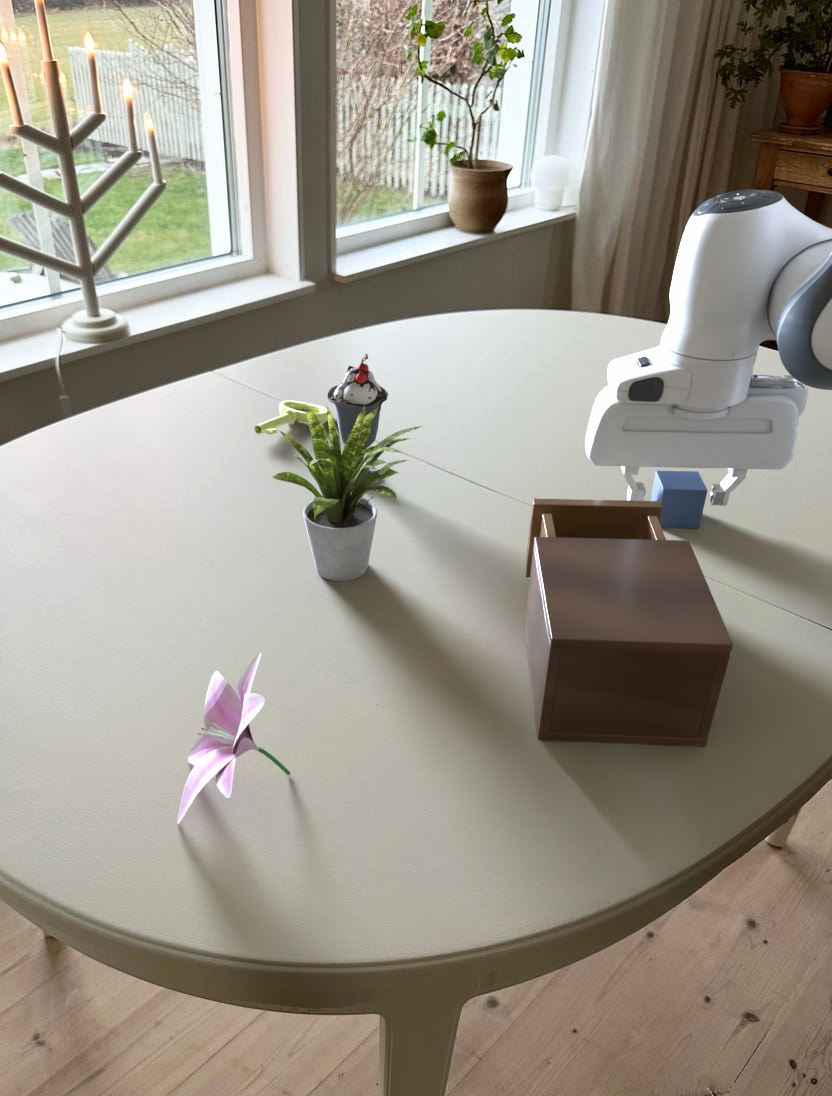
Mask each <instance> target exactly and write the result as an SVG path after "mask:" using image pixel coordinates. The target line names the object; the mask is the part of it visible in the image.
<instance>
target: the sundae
mask: <svg viewBox="0 0 832 1096" xmlns="http://www.w3.org/2000/svg"><path fill="white" fill-rule="evenodd" d="M368 359H369V354H367V353H365V354H364V357H362V359H361V362H360V364H358V366H357V367H356V366H355V367H354V366H352V365H349V366H348V368H347V370H346V373H345V376H344V379H343V381H342V382H341V383H340V384H338V385H334V386H332V387H331V388H330V389H329V390H328V392H327V395H326V397H327V400H328V402H330V403H332V404H333V407H334V409H335V414H336V420H337V427H338V428H337V429H338V434H339V438H340V440H341V441H340V442H342V443H343V445H345V443H346V441H347V438H348V436H349V434H350V432H351V430H352V428H353V426H354V424H355V422H356V420H357V417H358V415H359V413H360V412H361V410H362V408H363V406H364V405H365V416H366V415H368V414H369V413H370V412H372V411H373V410H374V409H377V408H378V409H377V413H376V415H375V417H374V418H373V420H372V422H371V428H370V435H369V437H368V439H367V441H366V443H365V445H364V447H363V449H362V450H365V449H367V448H369V447H371V446H372V445H373V444H374V443H375V441H376V440H377V435H378V430H379V423H380V422H379V421H380V416H381V415H380V414H381V409H382V404H383V403H384V402H386V401H387V400H388V397H389V392H388V391H387V390H386V389H385V388H384V387H383V386H381V385H379V383H378V382H377V381H376V379H375V376H374V374H373V372H372V371H371V370H370V367H369V365H368V364H367V363H364V362H366V361H367V360H368ZM379 407H380V408H379ZM365 416H364V418H365ZM364 458H365V455H364V456H363V457H362V458H361V459H360V460H359V461H358V462H357V463H356V466H355V469H354V471H355V470H356V469H357V467H358V466H359V465H360V463H361V462H362V461H363V459H364ZM375 471H377V470H375V469H369V471H368V472H367V474H366V476H365V477H364V479H363V481H364V480H365V479H366V478H367V477H368V476H369V475H371V474H372V473H373V472H375ZM363 481H362V482H363ZM357 482H358V481H357ZM362 482H361V483H362ZM356 484H357V483H356ZM355 486H356V485H355Z"/></svg>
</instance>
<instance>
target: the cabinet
mask: <svg viewBox="0 0 832 1096" xmlns="http://www.w3.org/2000/svg"><path fill="white" fill-rule="evenodd" d="M523 630H524V631H523V632H524V639H525V641H524V642H525V648H526V656H527V664H528V671H529V672H528V673H529V680H530V688H531V697H532V703H533V711H534V719H535V727H536V735H537V740H538V741H548V742H549V741H550V742H551V741H553V742H577V743H578V742H579V743H603V744H605V743H607V744H630V745H631V744H633V745H654V746H655V745H656V746H657V745H658V746H680V747H681V746H682V747H685V746H686V747H706V746H707V742H708V738H709V735H710V732H711V728H712V724H713V720H714V717H715V713H716V710H717V705H718V702H719V698H720V695H721V691H722V687H723V684H724V680H725V676H726V673H727V668H728V665H729V661H730V658H731V653H732V651H733V647H734V644H733V641H732V638H731V636H730V634H729V631H728V629H727V627H726V625H725V622H724V620H723V618H722V615H721V613H720V610H719V608H718V606H717V603H716V601H715V599H714V596H713V594H712V591H711V589H710V587H709V585H708V582H707V580H706V576H705V574H704V573H703V571H702V568H701V565H700V563H699V560H698V558H697V556H696V554H695V551H694V549H693V546H692V545H691V542H690V540H680V539H679V540H678V539H666V540H643V539H601V538H559V537H535V538H534V547H533V556H532V565H531V574H530V578H529V583H528V592H527V602H526V610H525V619H524V629H523Z"/></svg>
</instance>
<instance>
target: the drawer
mask: <svg viewBox="0 0 832 1096" xmlns="http://www.w3.org/2000/svg"><path fill="white" fill-rule="evenodd" d="M661 512H662V505H661V503H660V501H650V500H644V501H628V500H627V499H626V500H625V499H624V500H623V499H622V500H621V499H619V500H617V499H578V498H575V499H574V498H573V499H571V498H566V499H565V498H532V501H531V510H530V518H529V519H530V520H529V526H528V527H529V528H528V537H527V545H526V557H525V565H524V576H525V578H526V579H527V578H529V579H530V574H531V565H532V556H533V547H534V538H535V537H559V538H601V539H643V540H667V538H666V536H665V534H664V531H663V527H661V526H660V523H659V522H660V517H661Z"/></svg>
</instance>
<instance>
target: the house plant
mask: <svg viewBox="0 0 832 1096" xmlns="http://www.w3.org/2000/svg"><path fill="white" fill-rule="evenodd" d="M305 408H306V410H305V412H306V414H307V419H308V423H307V424H308V428H309V431H310V437H311V438H310V439H309V441H312V450H313V454H314V458H315V459H314V458H313V457H312V455H311V453H310V452H309V451H308V449H307V448H306V447H305V446H303V444H302V443H301V442H299V441H298V440H297V439H296V438H294V437H293V436H292V435H290V434H288V433H285V432H283V431H281V430H279V433H280V434H281V435H282V436H283V437H284V438H285V439H286V440H288V441H289V442H290V444H291V446H292V447H293V448H294V449H295V451H296V452H297V453H298V454H299V455H301V457H302V458H303V459H304V461H305V462H306V463H305V462H304V461H303V459H302V458H300V457H299V456H297V455H295V454H292V453H291V456H293V457H295V458H296V459H297V460H299V461H300V462H301V463H302V464H303V465H304V466H305V467H306V468H307V469H308V471H309V473H310V475H311V476H312V477H313V480H315V482H316V483H317V485H318V487H319V490H320V492H319V491H318V489H317V488H316V487H315V486H314V485H313V484H312V482H310V481H309V480H307V479H306V478H304V477H303V476H300V475H299V474H297V473H293V472H291V471H282V472H278V473H276V474H274V475H273V476H272V477H271V478H270V480H272V479H275V480H278V481H282V482H287V483H291V484H295V485H298V486H301V487H302V488H305V489H307V490H308V491H310V492H311V493H312V494H313V495H314V496H315V497H314V498H313V499H312V500H311V501H309V502H308V503H307V504H306V505H305V506H304V508H303V510H302V511H303V512H302V515H303V520H304V524H305V528H306V532H307V535H308V541H309V545H310V550H311V553H312V557H313V561H314V566H315V569H316V572H317V574H318V575H319V576H320V577H322V578H323V579H327V580H330V581H336V582H344V581H351V580H356V579H357V578H360V577H362V576H363V575H365V573H366V572H367V570H368V567H369V562H370V556H371V551H372V544H373V539H374V535H375V529H376V522H377V516H378V508H377V506H376V504H375V503H373V502H372V501H371V499H373V498H374V497H375V495H373V496H371V497H370V498H369V499H368V498H366V497H364V495H366V493H367V492H376V493H377V494H376V496H378V495H386V496H387V497H390V498H393V499H394V500H395V501H396V502H397V503H398V505H400V503H399V500H398V497H397V494H396V492H395V491H394V490H393V489H391V488H390V487H389V486H386V485H381V484H376V483H378V482H380V481H383V480H385V479H387V478H389V477H391V476H394V475H396V474H399V472H398V471H396V470H395V469H392V468H394V467H393V466H396V465H398V464H401V463H405V462H406V461H408V459H402V460H394V461H390V462H386V461H384V460H382V459H379V457H381V455H382V454H384V453H385V452H389V453H398V454H402V452H401V451H400V450H397V449H395V448H392V446H394V445H395V444H396V443H400V442H404V441H406V440H410V439H411V437H409V438H408V437H407V438H405V437H404V438H398V437H400V436H402V435H404V434H407V433H410V432H412V431H415V430H418V429H420V428H423V426H422V425H419V426H414V427H409V428H405V429H401V430H399V431H396V432H394V433H392V434H391V435H388V436H387V437H386V438H384V439H382V440H381V441H380V442H379V443H377V444H375V445H371V446H369V447H368V448H366V449H365V450H362V449H363V447H364V445H365V443H366V441H367V439H368V437H369V435H370V428H371V422H372V420H373V418H374V417H375V415H376V413H377V409H378V408H377V409H374V410H373V411H372V412H370V413H369V414H368V415H366V416H365V405H364V406H363V408H362V410H361V412H360V413H359V415H358V417H357V420H356V422H355V424H354V426H353V428H352V430H351V432H350V434H349V436H348V438H347V441H346V443H345V444H344V445H343V450H342V447H341V441H340V440H341V438H340V434H339V431H338V430H337V429H338V428H337V427H336V424H335V421H334V417H333V414H332V412H331V410H330V409H329V407H328V406H326V408H327V415H328V421H327V422H328V434H329V438H328V434H327V431H326V428H325V426H324V425H323V423H321V422H320V421H319V420H318V419H317V417H316V415H315V414H314V413H315V412H314V411H313V410H311V409H310V408H309V407H307V406H306V407H305ZM379 408H380V407H379ZM364 416H365V418H364ZM329 440H330V441H329ZM363 456H364V459H363V461H362V462H361V463H360V465H359V466H358V467H357V469H356V470H355V471H354V469H355V466H356V463H357V462H358V461H359V460H360V459H361V458H362V457H363ZM384 464H385V465H384ZM380 465H383V466H382V467H381V468H379V469H377V468H376V467H377V466H380ZM369 469H373V470H376V471H375V472H373V473H372V474H371V475H369V476H368V477H367V478H366V479H365V480H364V481H363V479H364V477H365V476H366V474H367V472H368V471H369ZM357 481H358V482H357ZM362 481H363V482H362ZM361 482H362V483H361ZM356 483H357V484H356ZM355 485H356V486H355Z"/></svg>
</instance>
